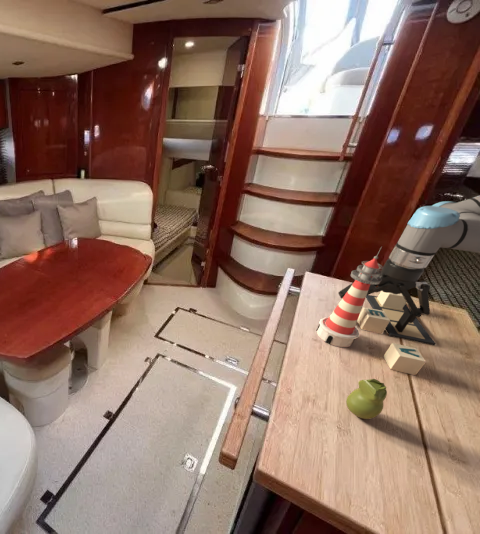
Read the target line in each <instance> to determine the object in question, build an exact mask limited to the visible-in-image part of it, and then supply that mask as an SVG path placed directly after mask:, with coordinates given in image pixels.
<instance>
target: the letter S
mask: <svg viewBox="0 0 480 534" xmlns="http://www.w3.org/2000/svg"><path fill="white" fill-rule="evenodd" d="M377 296H378V297H377V299H378V300H379V302H380V304H381V305H382V306H384V307H390V308H395V309H400V310H402V308H403V307H404V305H405V304H406V305H407V302H406V300H405V299H404V297H403V295H402V294H401V293H400V294H393V293H386V292H383V291H380V292H379V294H378V295H377Z"/></svg>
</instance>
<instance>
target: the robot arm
mask: <svg viewBox="0 0 480 534" xmlns="http://www.w3.org/2000/svg"><path fill="white" fill-rule="evenodd" d="M441 248H443V249H448V250H449V249H450V250H457V251H462V252H463V251H465V252H469V253H470V252H471V253H479V254H480V195H477V196H474V197H471V198H467V199H465V200H462V201H458V202H457V201H449V200H447V201H446V200H445V201H439V202H436V203H434V204H432V205H424V206H421V207H418V208H417V209H416V210H415V212H414V213H413V215H412V217H411V218H410V219H409V220H408V222H407V225H406V226H405V228H404V230H403V232H402V234H401V235H400V237H399V239H398V240H397V242H396V244H395V245H394V247H393V249H392V251H391V252H390V254H389V256H388V258H387V259H386V261H385V263H384V264H383V265H382V266H383V268H382V267H381V268H382V269H380V271H381V272H382V274H381V275H380V276H379V277H380V278H381V279H382V280H381V282H380V283H379V284H376V285H370V287H369V290H368V293H367V295H371V294H374V293H380V292H381V291H383V292H386V293H393V294H400V293H401V294H402V295H403V297H404V299H405V300H406V305H407V307H408V308H409V309H410V310H408V309H406V310H405V312H404V313H403V315H402V316H401V318H400V319H399V321H398V322H397V324H396V325H395V327H396V329H397V330H398V332H402V331H403V330H404V329H405V327H406V326H407V324H408V323H412V322H413V321H414V320H415V319H416V318H421V317H422V315H425V316H429V315H431V309H430V300H429V291H430V288H431V286H430V285H429V283H428V282H427V281H425V280H421V281H419V279H420V278H421V276H422V275H423V273H424V272H425V269H426V268H427V267H428V266H429V264H430V262H431V261H432V259H433V258H434V256H435V255H436V254H437V252H438V251H439V249H441ZM379 277H378V278H379ZM378 278H377V279H378ZM380 278H379V279H380ZM354 282H355V281H352V283H350V284H349V285H347V286H346V287H344V288H342V289H341V290H340V291H338V295H339V298H340V299H342V298H343V297H344V296H345V294H346V293H347V291H348V290H349V289H350V287H351V286H352V284H353V283H354ZM414 288H415V289H416V290H417V297H418V305H419V307H417V305H416V303H415V302H414V300H413V298H412V296H411V294H410V292H409V290H411V289H414Z"/></svg>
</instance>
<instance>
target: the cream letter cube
mask: <svg viewBox="0 0 480 534" xmlns="http://www.w3.org/2000/svg"><path fill="white" fill-rule="evenodd" d="M382 358H384V360H385V362H386V364H387V366H388V368H389V369H390V370H392V371H395V372H400V373H404V374H407V375H412V376H417V374H418V373H419V371H421V369H422V368H423V366H425V364H426V362H427V361H426V360H425V358H424V356H423V355H422V354H421V352H420V351H419V349H418V348H417V347H413V346H409V345H405V344H400V343H394V342H391V344H390V346H388V348H387V350H386V351H385V353H384V355H383V357H382Z"/></svg>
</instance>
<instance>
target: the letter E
mask: <svg viewBox="0 0 480 534" xmlns="http://www.w3.org/2000/svg"><path fill="white" fill-rule="evenodd" d="M389 322H390V320H389V318H388V317H387V315H386V313H385V312H384V311H381V310H376V309H373V308H372V307H371V308H370V307H365V306H362V309H361V312H360V315H359V318H358V320H357V323H358V325H359V327H360V329H361V330H364V331H366V332H367V331H368V332H371V333H377V334H383V333H384V331H386V330H385V328H386V327H387V325H388V324H389Z"/></svg>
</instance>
